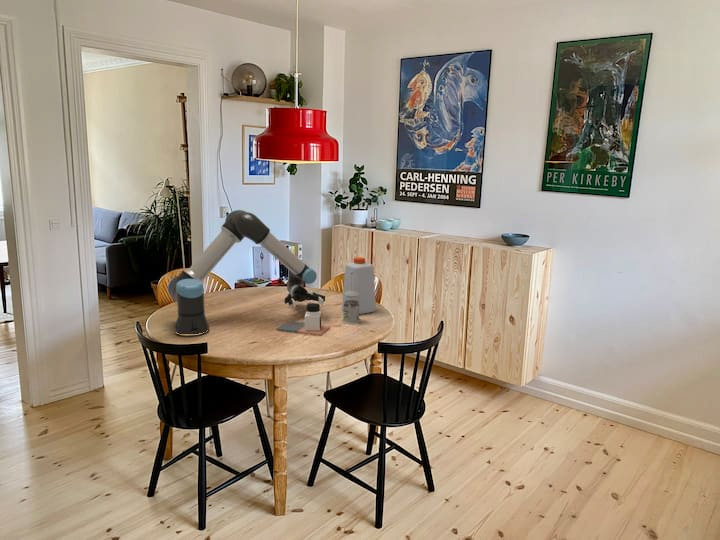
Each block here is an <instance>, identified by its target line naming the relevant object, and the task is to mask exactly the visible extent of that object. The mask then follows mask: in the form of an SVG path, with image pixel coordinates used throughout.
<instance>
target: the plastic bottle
mask: <svg viewBox="0 0 720 540" xmlns="http://www.w3.org/2000/svg"><path fill="white" fill-rule="evenodd" d="M374 269H375V267H374V265H373V264H371V263H370V262H366V258H365V257H362V256H361V257H360V256H358V257H354V258H353V261H352V262H347V263H345V265H344V277H343V289H342V291H343V292H342V301H341V302H342V303H341V309H342V310H343V308H344V307H343V305H344V304H345V303H344V302H345V301H346V298H347V300H351V298H348V297H347V296H344V295H343V294H344V293H345V292H347V291H351V274H350V272H351V271H352V272H354V274H352V291H356V292H358V293H359V294H360V295H359V296H357V297H352V300H354V301H355V300H356V301H358V302H359V303H358V304H359V314H360V315H365V313H366V314H371V313H374V312H375V311H376V306H377V305H376V289H375V271H374ZM349 307H350V305H349ZM355 307H358V306H355ZM343 311H345V310H343ZM357 312H358V311H357ZM370 312H371V313H370ZM357 315H358V314H357Z"/></svg>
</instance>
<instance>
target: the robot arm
mask: <svg viewBox="0 0 720 540" xmlns="http://www.w3.org/2000/svg"><path fill="white" fill-rule="evenodd" d="M245 238H246V239H248V240H250V241H252V243H253V242H254V244H256V245H260V246H261V247H262V248H263V249H264V250H265V251H267V252H268V253H269V254H270V255H272V256H273V257H274V258H275V259H276V260H277V261H279V263H281V264H282V265H283V266H284V267H285V268H286V269H287V271H288V272H287V273H288V274H287V275H288V277H287V278H288V280H287V284H286V285H287V286H286V289H287V291H288V293H287V296H286V297H285V298H284V304H285V305H286V304H288V306H291V305H292V307H293V308H296V302H299V303H302V302H303V303H304V301H314V302H318V304H319V305H321V306H324V303H325V302H326V295H323V294H319V293H316V292H312V293H310V292H308V290H307V289H306V288H305V287H304V285H303V283H305V284H309V285H310V284H313V283H315V282H316V280H317V276H318V275H317V274H318V273H317V272H316V271H315V270H314V269H313V268H310V267H309V265H307V264H306V263H305V262H304V261H303V259H300V258H299V257H298V256H297V255H296V254H295V253H294V252H292V251H291V250H290V249H289V248H288V246H286V245H285V244H284V243H283V242H281V241H280V240H279V239H278V238H277V237H276V236H275V235H274V234H273V233H272V232H271V229H270V228H269V227H268V226H267V225H266V224H265V223H264V222H263V221H262V220H261V219H260V218H259V217H258V216H256V214H254V213H252V212H249V211H245V210H243V209H236V210H233V211H230V212H229V213H227V215H226V218H225V221H224V223H223V224H222V225H221V231H220V233H219V234H217V236H216V237H215V238H214V239H213V241H212V242H210V244H209V245H208V246H207V247H206V249H205V250H203V252H202V253H201V254H200V255H199V256H198V258H197V259H196V260H195V261H194V262H193V263H192V264H191V266H190V267H189V268H188V269H183V270H182V271H181V272H180V273H179V274H178V275H176V276H174V277H172V278H171V279H170V280H169V282H168V285H167V292H168V294H169V297H170V299H172V300H173V301H175V302H176V305H177V318H176V319H177V320H176V323H175V326H174V333H175V332H177V333H179V334H199V333H203V332H206V331H207V330H209V331H210V324H209V322H208V319H207V317H206V313H205V293H204V292H205V287H204V280H205V279H206V278H207V277H208V275H209V274H210V273H211V272H212V271H213V270H214V268H215V267H216V266H217V265H218V264H219V263H220V262H221V260H223V258H224V256H226V254H227V253H229V251H230V250H231V249H232V247H233V246H234V245H235V244H236V243H237V244H238V243H241V242H242V241H243V239H245Z"/></svg>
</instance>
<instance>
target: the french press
mask: <svg viewBox="0 0 720 540" xmlns="http://www.w3.org/2000/svg"><path fill="white" fill-rule="evenodd" d="M350 274H351V291H347V292H345V293H344V294H343V293H342V296H343V295H344V296H347V297H348V298H351V300H347V298H346V301H345V302H344V303H345V304H344V305H343V307H344V308H343V309H342V310H343V313H342V314H343V319H342V321H341V323H343V324H345V323H346V324H345V325H356V324H355V323H358V324H360V323H362V320H361V319H360V315H359V304H358V303H359V302H358V301H356V300H355V301H354V300H352V297H357V296H359V295H360V294H359V293H358V292H356V291H352V274H354V272H352V271H351V272H350ZM349 305H350V307H349ZM355 306H358V307H355ZM344 310H345V311H344ZM357 311H358V312H357ZM357 314H358V315H357ZM359 322H360V323H359Z"/></svg>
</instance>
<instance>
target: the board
mask: <svg viewBox="0 0 720 540" xmlns="http://www.w3.org/2000/svg"><path fill="white" fill-rule="evenodd" d="M275 329H276V330H279V331H278V332H284V331H286V333H292V332H294V333H295V334H300V333H301V334H302V335H308V334H310V335H309V336H316V335H318V336H317V337H321V336H322V335H324V334H325V333H326V332H327V331H328V330H330V329H331V326H330V325H322V324H321V329H320V331H305V322H298V321H289V320H288V321H285V322H284V323H283V324H281V325H279V326H278V327H276V328H275Z"/></svg>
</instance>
